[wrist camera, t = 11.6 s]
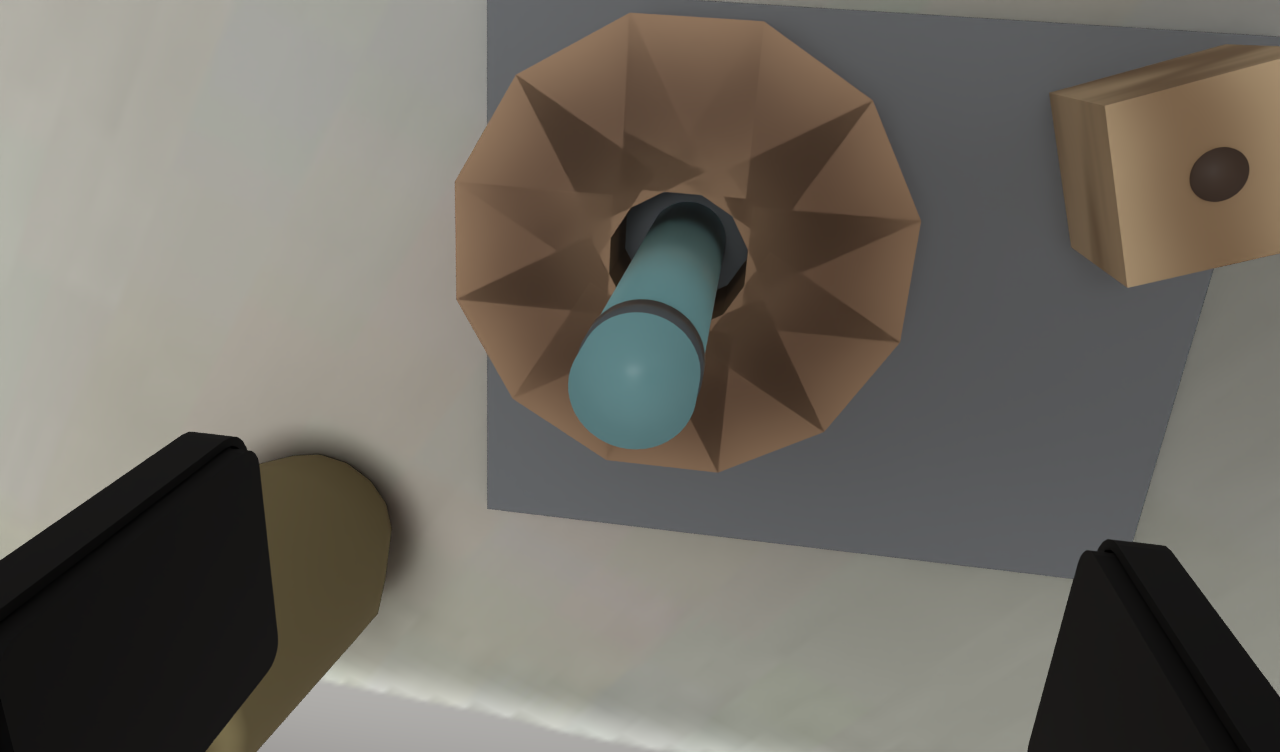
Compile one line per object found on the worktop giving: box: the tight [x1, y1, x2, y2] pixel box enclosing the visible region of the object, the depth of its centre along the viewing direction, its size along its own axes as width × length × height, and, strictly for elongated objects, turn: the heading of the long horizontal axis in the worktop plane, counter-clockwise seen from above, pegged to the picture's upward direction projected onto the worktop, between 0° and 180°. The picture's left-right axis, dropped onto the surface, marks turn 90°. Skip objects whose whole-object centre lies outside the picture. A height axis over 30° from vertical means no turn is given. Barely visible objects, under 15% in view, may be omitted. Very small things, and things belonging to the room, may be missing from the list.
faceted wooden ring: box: [455, 13, 921, 473], centre depth 30 cm, size 14×14×4 cm
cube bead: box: [1049, 44, 1280, 288], centre depth 26 cm, size 5×5×5 cm
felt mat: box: [487, 0, 1280, 579], centre depth 32 cm, size 24×19×1 cm
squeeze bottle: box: [205, 454, 392, 752], centre depth 29 cm, size 8×8×18 cm
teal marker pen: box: [568, 202, 726, 449], centre depth 25 cm, size 3×3×14 cm
